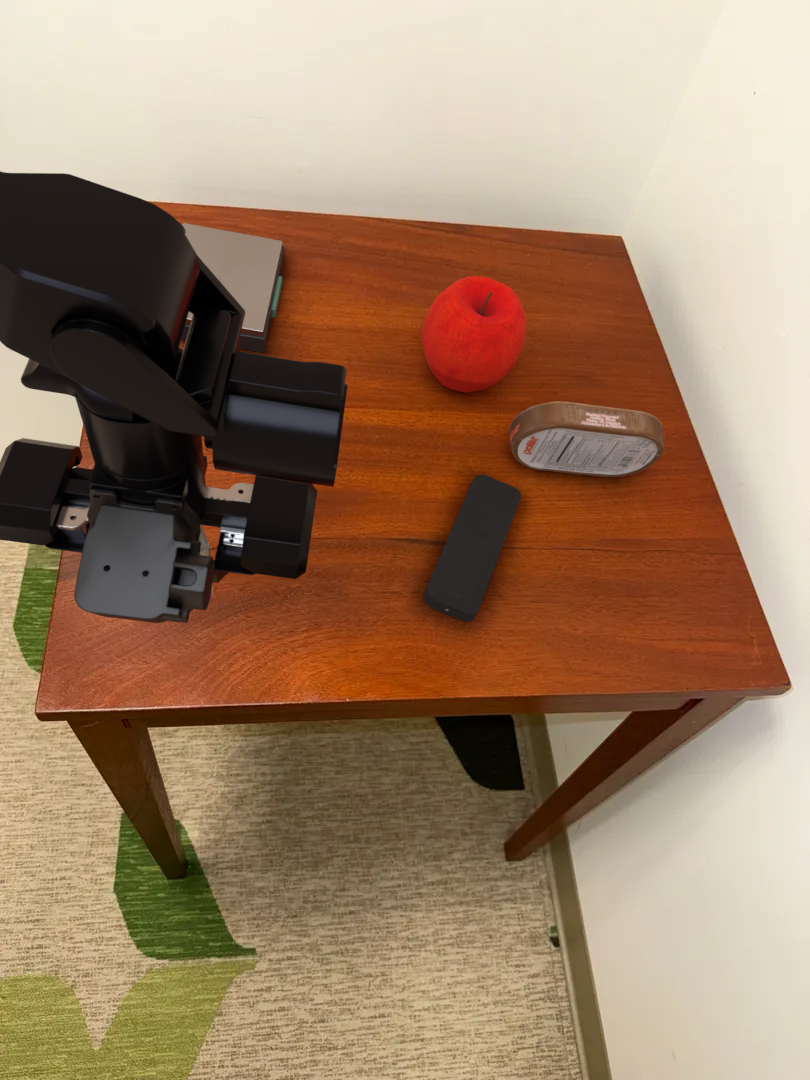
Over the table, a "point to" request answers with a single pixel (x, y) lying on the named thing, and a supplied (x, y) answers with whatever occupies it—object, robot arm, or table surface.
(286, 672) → the table surface
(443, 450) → the table surface
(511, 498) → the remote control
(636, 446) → the tin
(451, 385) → the apple
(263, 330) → the scale
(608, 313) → the table surface
